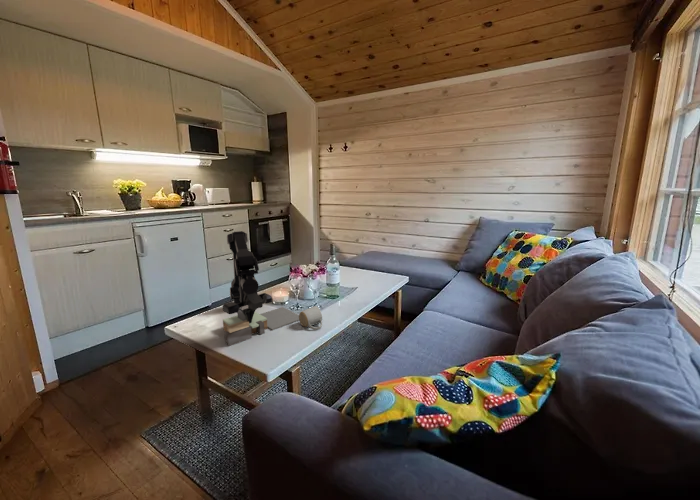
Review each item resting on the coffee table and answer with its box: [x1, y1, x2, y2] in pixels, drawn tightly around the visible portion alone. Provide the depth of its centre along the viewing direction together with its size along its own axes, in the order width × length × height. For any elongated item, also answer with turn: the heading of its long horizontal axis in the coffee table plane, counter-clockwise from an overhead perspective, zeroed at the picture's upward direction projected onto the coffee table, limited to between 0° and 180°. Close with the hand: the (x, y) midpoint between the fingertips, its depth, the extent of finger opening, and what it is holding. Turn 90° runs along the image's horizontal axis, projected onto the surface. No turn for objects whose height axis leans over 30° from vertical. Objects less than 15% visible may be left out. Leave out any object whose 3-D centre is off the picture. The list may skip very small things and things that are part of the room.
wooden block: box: [227, 320, 249, 333], centre depth 126 cm, size 2×8×2 cm, turn 135°
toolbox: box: [222, 320, 268, 347], centre depth 134 cm, size 15×18×5 cm
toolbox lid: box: [222, 310, 267, 328], centre depth 135 cm, size 15×14×4 cm
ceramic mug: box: [298, 305, 323, 331], centre depth 140 cm, size 11×8×8 cm
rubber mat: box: [259, 306, 300, 331], centre depth 148 cm, size 18×17×1 cm
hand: (249, 322), depth 129 cm, fingers closed
